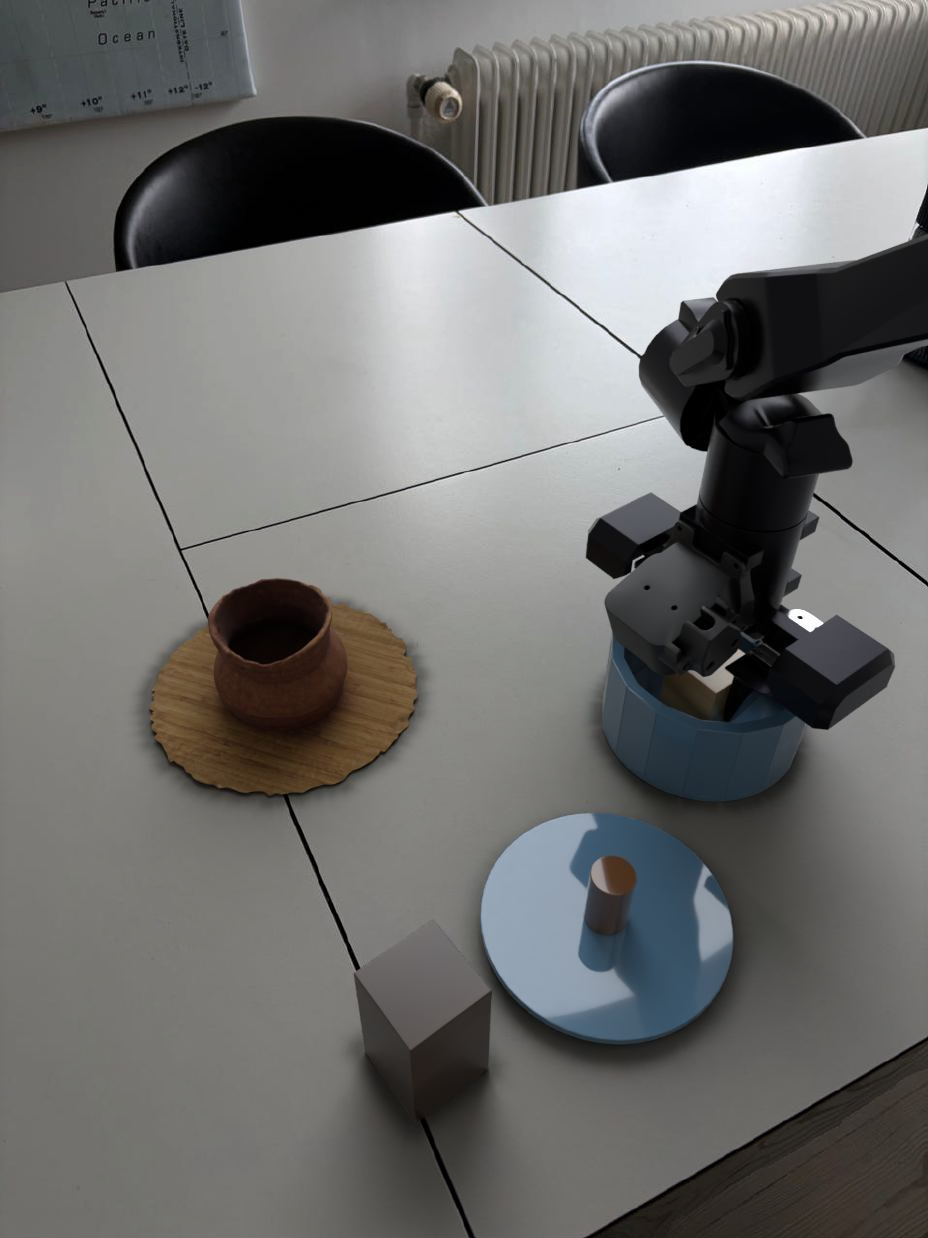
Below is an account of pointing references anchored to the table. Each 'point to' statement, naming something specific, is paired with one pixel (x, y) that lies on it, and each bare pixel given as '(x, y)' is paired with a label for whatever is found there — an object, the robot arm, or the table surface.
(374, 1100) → the table surface
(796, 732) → the bowl
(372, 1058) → the stand
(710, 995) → the bowl lid
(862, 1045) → the table surface
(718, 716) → the block
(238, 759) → the ceramic pot
